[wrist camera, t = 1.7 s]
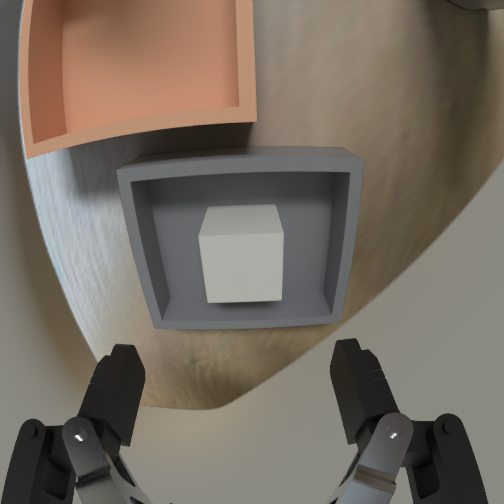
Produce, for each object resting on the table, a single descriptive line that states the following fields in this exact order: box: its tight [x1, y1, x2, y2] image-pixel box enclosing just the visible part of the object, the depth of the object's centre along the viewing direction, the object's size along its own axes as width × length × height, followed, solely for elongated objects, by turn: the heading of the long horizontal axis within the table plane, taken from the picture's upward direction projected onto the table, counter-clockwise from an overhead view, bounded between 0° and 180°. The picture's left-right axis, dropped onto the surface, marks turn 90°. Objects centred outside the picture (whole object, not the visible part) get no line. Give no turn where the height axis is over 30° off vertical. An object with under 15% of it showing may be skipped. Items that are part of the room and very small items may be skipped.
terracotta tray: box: [20, 0, 257, 159], centre depth 11 cm, size 14×14×5 cm
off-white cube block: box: [198, 204, 284, 303], centre depth 18 cm, size 4×4×4 cm
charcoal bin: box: [116, 146, 364, 329], centre depth 19 cm, size 14×12×4 cm
